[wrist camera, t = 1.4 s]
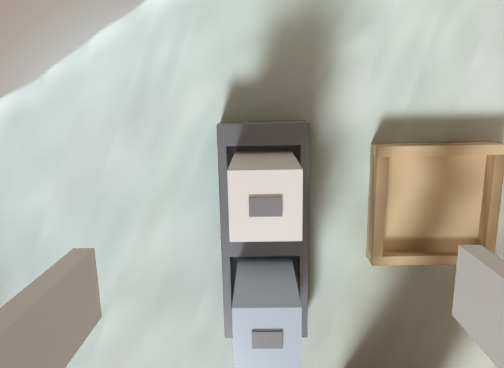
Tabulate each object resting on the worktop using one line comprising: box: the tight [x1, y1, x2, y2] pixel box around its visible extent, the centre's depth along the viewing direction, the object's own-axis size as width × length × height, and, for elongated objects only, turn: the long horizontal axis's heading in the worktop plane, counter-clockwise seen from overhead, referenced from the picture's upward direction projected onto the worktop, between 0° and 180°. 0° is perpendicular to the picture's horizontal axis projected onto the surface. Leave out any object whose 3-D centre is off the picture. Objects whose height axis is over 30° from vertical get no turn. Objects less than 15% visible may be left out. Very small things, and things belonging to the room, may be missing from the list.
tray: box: [366, 142, 504, 266], centre depth 33 cm, size 10×10×2 cm
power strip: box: [217, 121, 310, 338], centre depth 34 cm, size 26×7×4 cm, turn 1°
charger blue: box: [232, 256, 302, 368], centre depth 31 cm, size 4×4×9 cm
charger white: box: [227, 150, 303, 242], centre depth 29 cm, size 4×4×9 cm
